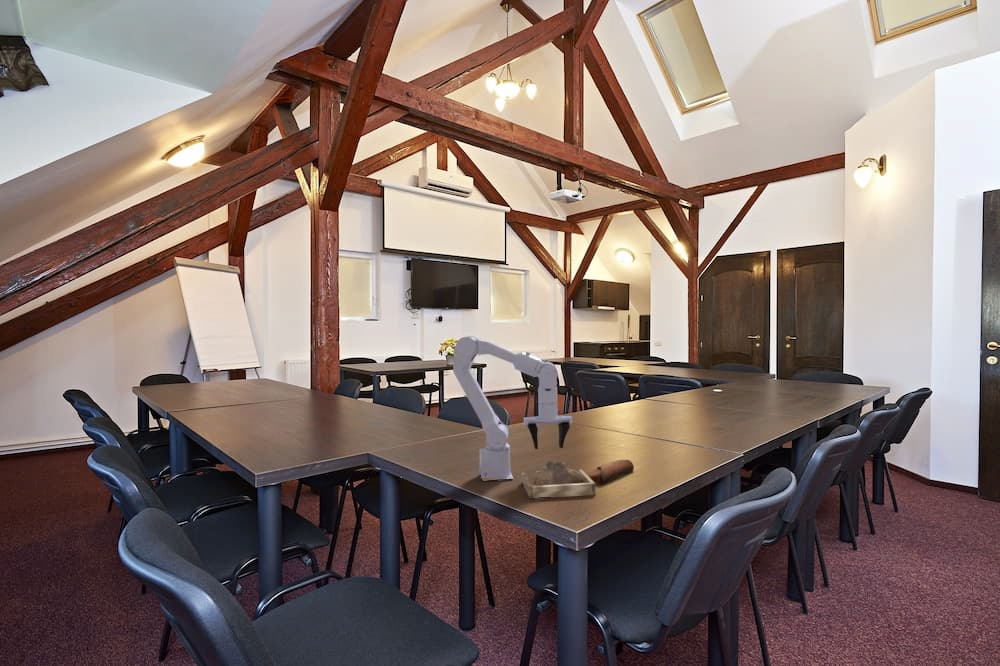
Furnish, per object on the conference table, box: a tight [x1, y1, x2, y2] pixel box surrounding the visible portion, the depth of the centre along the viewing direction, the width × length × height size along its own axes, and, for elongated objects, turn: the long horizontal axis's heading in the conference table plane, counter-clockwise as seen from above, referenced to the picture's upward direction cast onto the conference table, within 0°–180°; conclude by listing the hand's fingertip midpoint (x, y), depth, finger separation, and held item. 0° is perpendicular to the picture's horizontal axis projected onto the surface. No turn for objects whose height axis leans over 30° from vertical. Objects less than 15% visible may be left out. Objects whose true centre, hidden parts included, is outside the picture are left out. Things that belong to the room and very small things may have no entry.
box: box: [521, 469, 597, 499], centre depth 136 cm, size 18×13×3 cm
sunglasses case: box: [586, 459, 635, 486], centre depth 146 cm, size 18×7×7 cm, turn 137°
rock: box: [532, 461, 582, 486], centre depth 138 cm, size 6×14×7 cm, turn 99°
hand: (548, 447), depth 146 cm, fingers open, 7 cm apart
